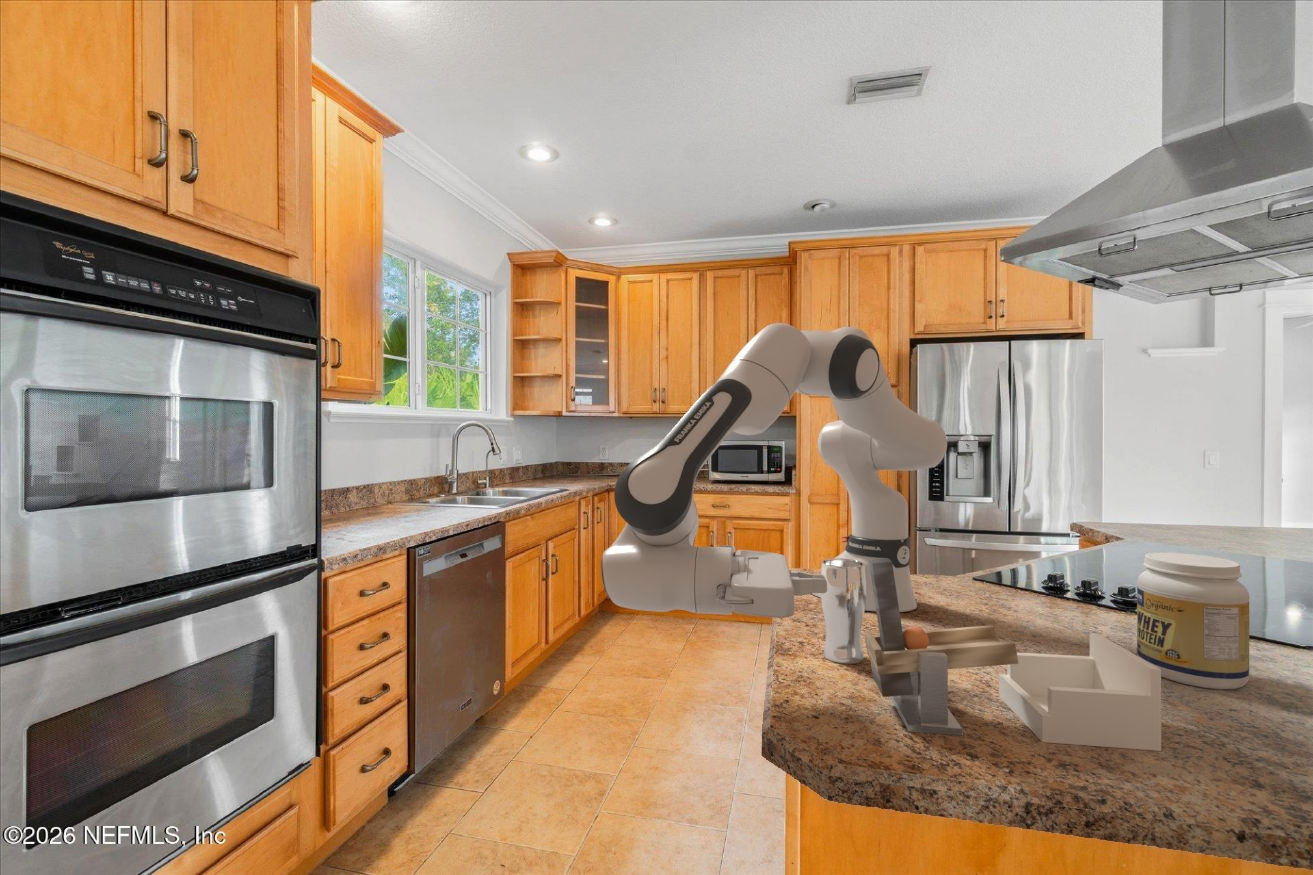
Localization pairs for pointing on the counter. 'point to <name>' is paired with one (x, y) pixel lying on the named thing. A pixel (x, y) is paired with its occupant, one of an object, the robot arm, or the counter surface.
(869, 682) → the counter surface
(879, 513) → the robot arm
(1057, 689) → the cream open-top tray
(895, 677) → the lever
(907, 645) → the ball
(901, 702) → the fulcrum
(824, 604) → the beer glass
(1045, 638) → the counter surface
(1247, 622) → the supplement tub
